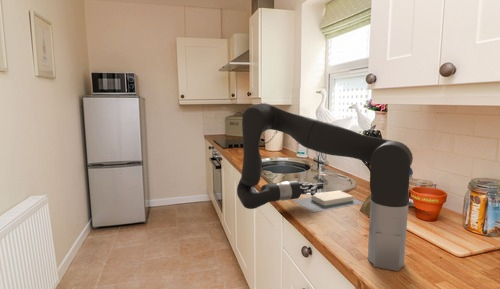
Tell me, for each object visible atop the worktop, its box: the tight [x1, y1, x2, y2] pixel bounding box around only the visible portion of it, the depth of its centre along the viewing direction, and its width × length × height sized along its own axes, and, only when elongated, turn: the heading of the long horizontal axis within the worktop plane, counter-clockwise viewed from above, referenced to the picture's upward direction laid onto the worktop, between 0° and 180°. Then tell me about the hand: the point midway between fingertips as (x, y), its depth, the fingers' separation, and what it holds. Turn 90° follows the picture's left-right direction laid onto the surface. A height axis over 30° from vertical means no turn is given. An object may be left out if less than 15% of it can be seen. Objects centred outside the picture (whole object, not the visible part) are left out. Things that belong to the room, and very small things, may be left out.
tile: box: [311, 190, 354, 207], centre depth 128 cm, size 2×9×15 cm
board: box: [292, 196, 365, 213], centre depth 128 cm, size 26×16×1 cm, turn 113°
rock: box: [359, 192, 371, 219], centre depth 112 cm, size 11×9×10 cm
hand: (322, 185), depth 125 cm, fingers closed
